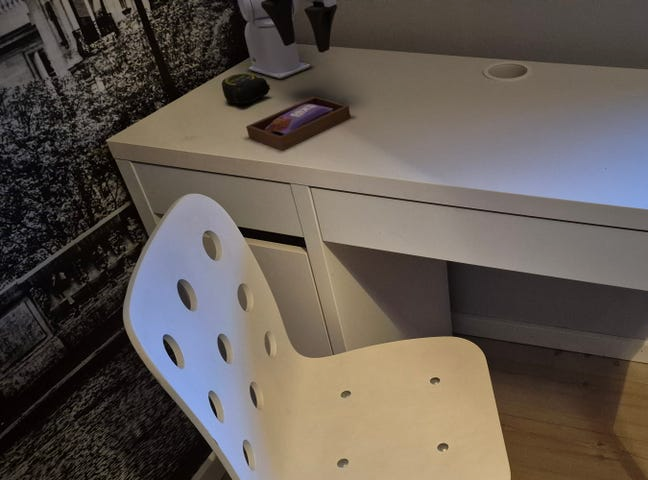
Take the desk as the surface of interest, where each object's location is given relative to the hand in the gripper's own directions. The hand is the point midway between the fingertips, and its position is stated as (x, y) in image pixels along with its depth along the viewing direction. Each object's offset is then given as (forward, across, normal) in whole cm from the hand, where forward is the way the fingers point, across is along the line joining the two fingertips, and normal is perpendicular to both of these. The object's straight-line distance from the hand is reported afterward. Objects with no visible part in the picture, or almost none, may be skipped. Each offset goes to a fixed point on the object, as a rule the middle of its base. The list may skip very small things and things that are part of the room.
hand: (306, 47), depth 113 cm
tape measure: (+10, +12, +5) cm, 16 cm away
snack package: (+9, -5, +10) cm, 14 cm away
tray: (+9, -5, +10) cm, 14 cm away
